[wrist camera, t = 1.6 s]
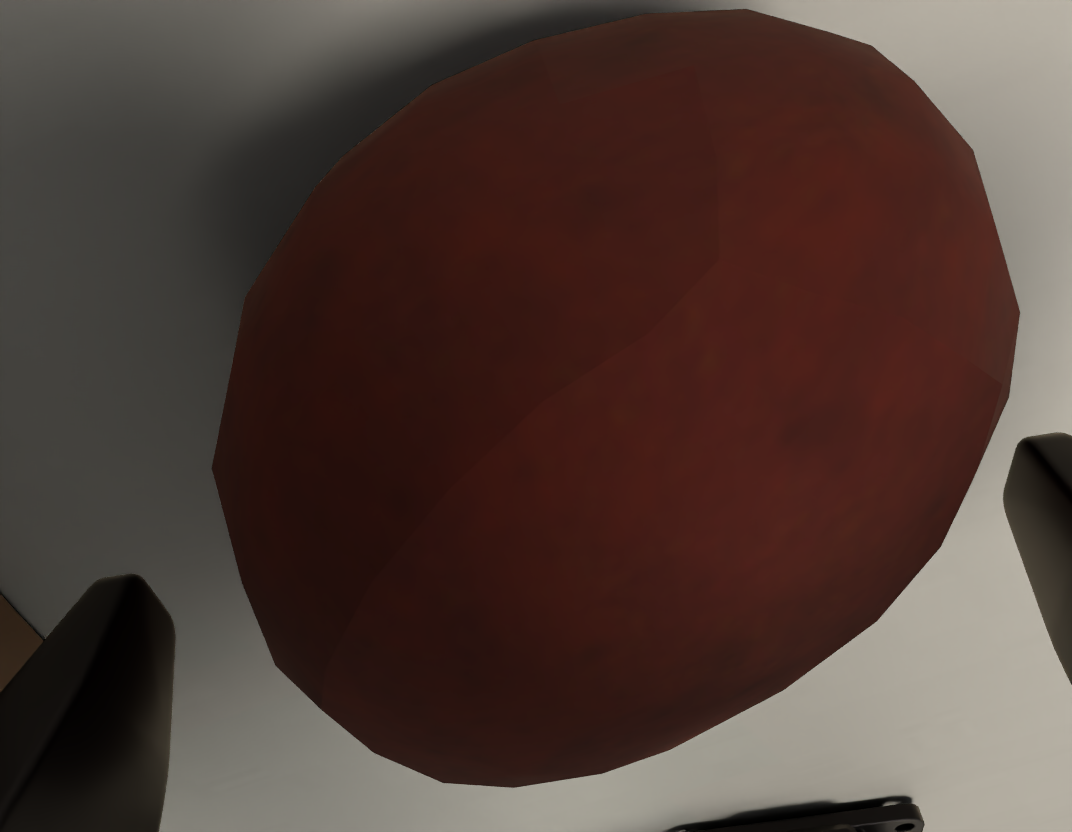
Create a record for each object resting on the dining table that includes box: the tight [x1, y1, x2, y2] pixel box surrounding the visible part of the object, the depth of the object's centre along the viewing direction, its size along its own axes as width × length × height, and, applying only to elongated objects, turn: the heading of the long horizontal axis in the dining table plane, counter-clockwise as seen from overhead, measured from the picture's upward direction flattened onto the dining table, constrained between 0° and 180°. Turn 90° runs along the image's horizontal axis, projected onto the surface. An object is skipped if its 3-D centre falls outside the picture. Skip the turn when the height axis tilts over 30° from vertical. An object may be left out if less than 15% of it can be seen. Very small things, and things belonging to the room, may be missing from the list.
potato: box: [212, 9, 1020, 788], centre depth 11 cm, size 7×10×6 cm
